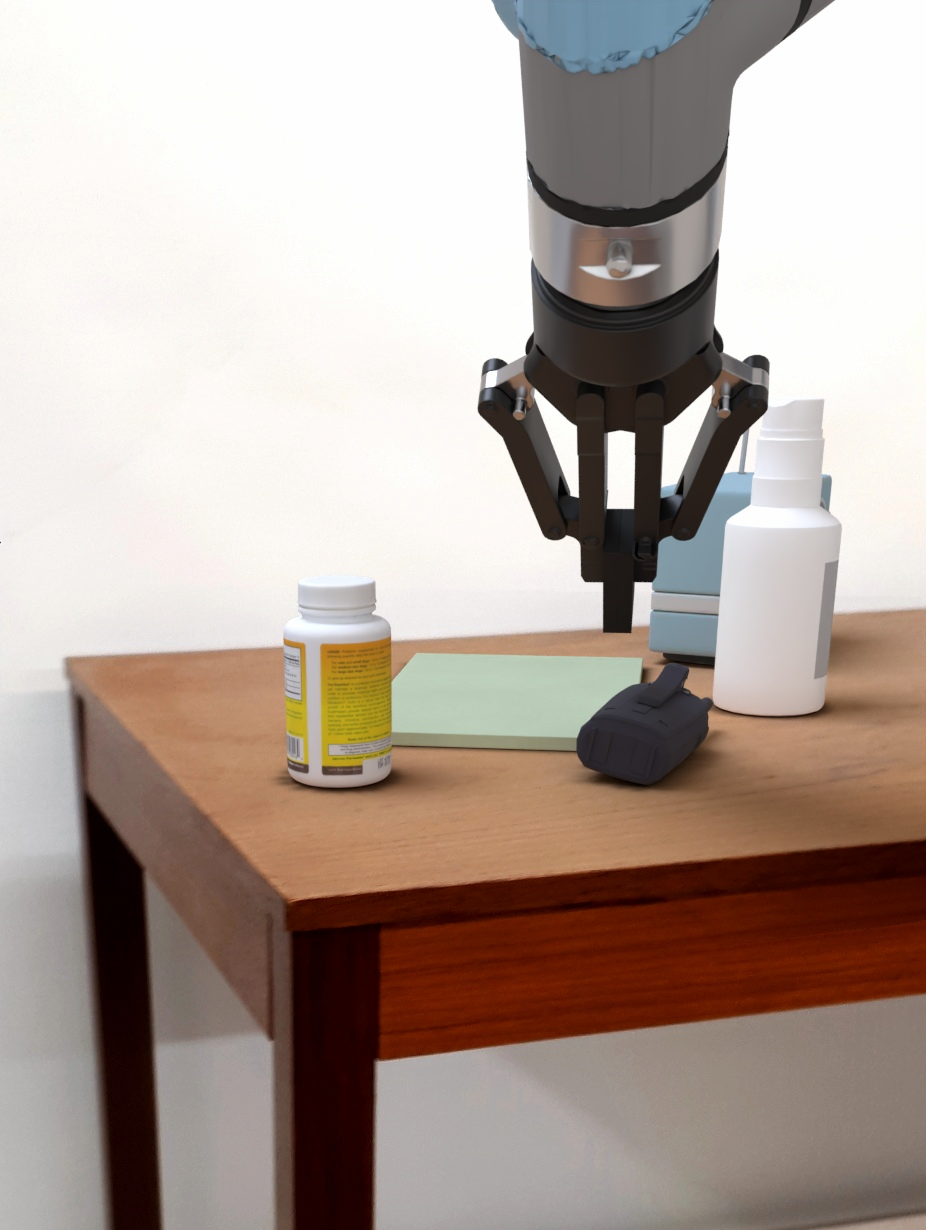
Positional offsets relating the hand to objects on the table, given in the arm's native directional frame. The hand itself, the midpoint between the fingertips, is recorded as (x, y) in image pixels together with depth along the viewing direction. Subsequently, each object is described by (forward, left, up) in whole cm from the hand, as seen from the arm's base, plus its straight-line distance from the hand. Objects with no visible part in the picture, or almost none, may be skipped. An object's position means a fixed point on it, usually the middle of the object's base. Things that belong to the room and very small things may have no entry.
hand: (618, 611), depth 88 cm
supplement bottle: (+14, +6, -8) cm, 17 cm away
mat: (+7, -15, -8) cm, 18 cm away
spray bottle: (-9, -16, -8) cm, 20 cm away
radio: (-8, -36, -8) cm, 38 cm away
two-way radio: (-1, +6, -6) cm, 8 cm away
